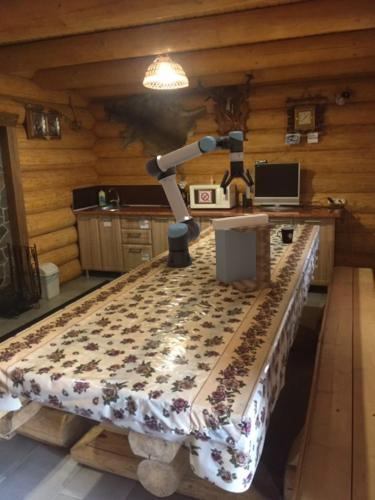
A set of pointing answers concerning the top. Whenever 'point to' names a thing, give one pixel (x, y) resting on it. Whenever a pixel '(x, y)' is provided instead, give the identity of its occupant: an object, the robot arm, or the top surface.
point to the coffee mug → (286, 234)
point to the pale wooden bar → (239, 221)
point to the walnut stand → (258, 259)
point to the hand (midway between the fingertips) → (237, 199)
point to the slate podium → (235, 255)
